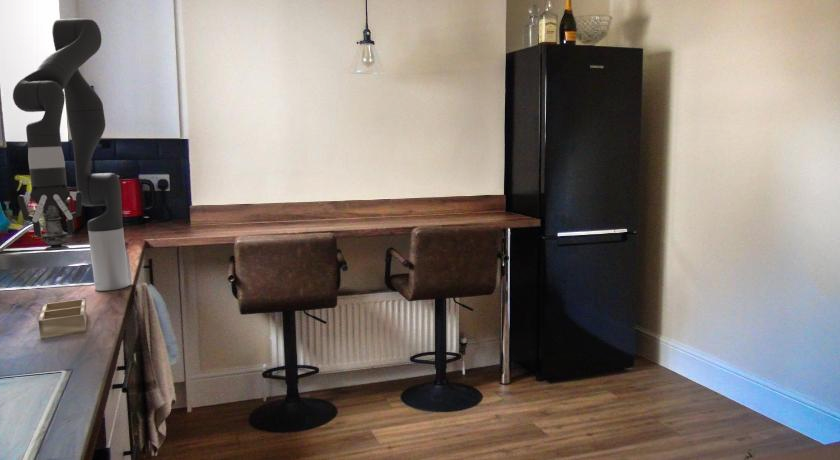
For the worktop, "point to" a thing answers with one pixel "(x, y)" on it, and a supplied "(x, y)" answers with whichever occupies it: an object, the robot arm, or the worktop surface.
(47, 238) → the grey stone statue
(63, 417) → the worktop surface
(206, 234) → the worktop surface
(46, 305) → the caddy
